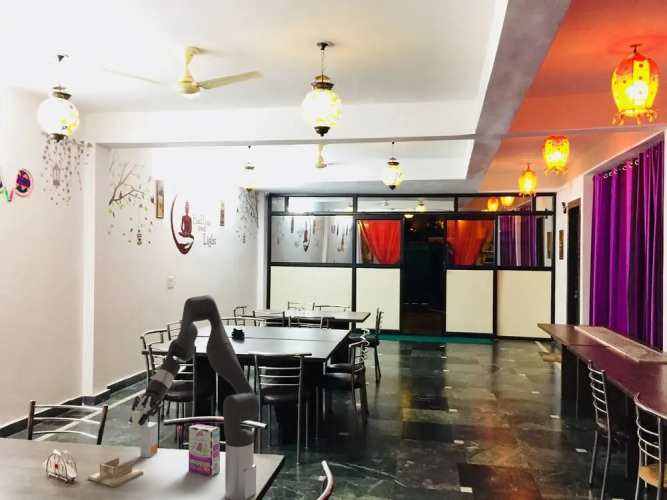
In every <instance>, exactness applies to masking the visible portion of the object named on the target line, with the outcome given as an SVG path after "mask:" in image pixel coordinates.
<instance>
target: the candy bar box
mask: <svg viewBox="0 0 667 500" xmlns="http://www.w3.org/2000/svg"><path fill="white" fill-rule="evenodd" d="M220 448H221V427H219V426H212V425H209V424H208V425H206V424H201V423H195V424H194V425H193V424H192V425H190V426H188V472H191V473H194V474H198V475H203V476H208V477H213V476H215V475H217V474H219V473H220V472H221V469H220V468H221V467H220V466H221V465H220V464H221V463H220V461H221V458H220V457H221V456H220V455H221V453H220V452H221V451H220V450H221V449H220Z"/></svg>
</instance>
